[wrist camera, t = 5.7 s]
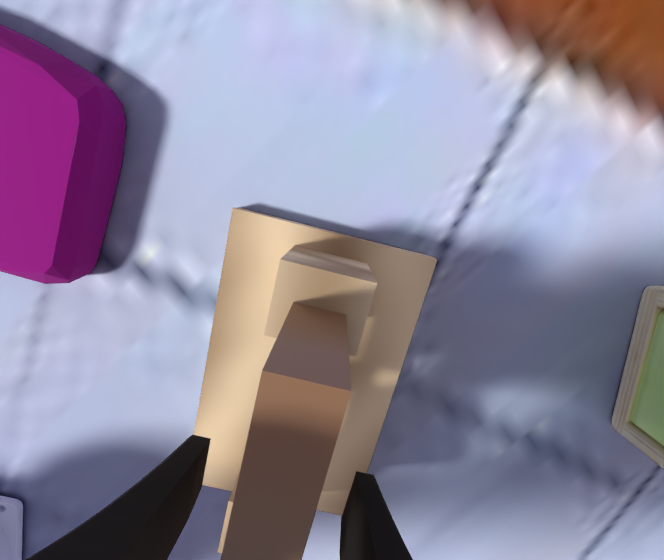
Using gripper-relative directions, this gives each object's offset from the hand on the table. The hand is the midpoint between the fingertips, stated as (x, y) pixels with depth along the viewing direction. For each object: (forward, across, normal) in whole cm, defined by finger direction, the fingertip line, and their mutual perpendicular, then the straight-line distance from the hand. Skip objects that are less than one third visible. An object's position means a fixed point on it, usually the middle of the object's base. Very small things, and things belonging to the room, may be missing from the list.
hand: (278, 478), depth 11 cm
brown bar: (+2, 0, +1) cm, 2 cm away
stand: (+7, 0, 0) cm, 7 cm away
